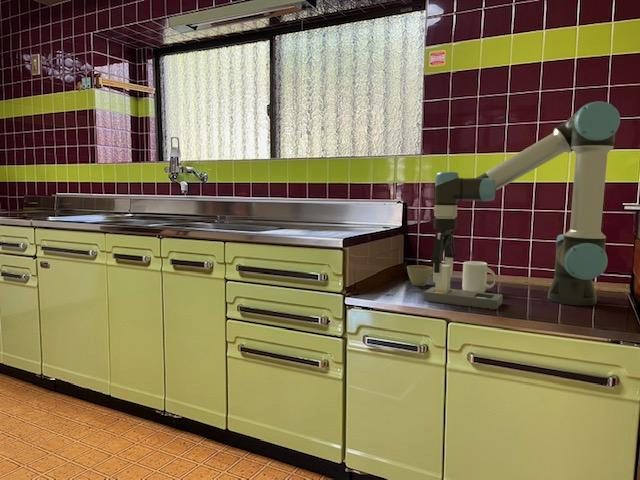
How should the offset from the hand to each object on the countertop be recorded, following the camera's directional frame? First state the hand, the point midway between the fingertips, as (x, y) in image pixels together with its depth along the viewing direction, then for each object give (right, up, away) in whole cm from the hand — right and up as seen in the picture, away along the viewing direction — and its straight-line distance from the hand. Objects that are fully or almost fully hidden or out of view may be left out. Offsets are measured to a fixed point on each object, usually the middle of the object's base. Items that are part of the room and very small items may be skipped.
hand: (443, 279), depth 169 cm
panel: (+6, -8, -3) cm, 10 cm away
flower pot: (-3, -5, +26) cm, 26 cm away
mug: (+17, -6, +14) cm, 23 cm away
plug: (0, -7, +1) cm, 7 cm away
